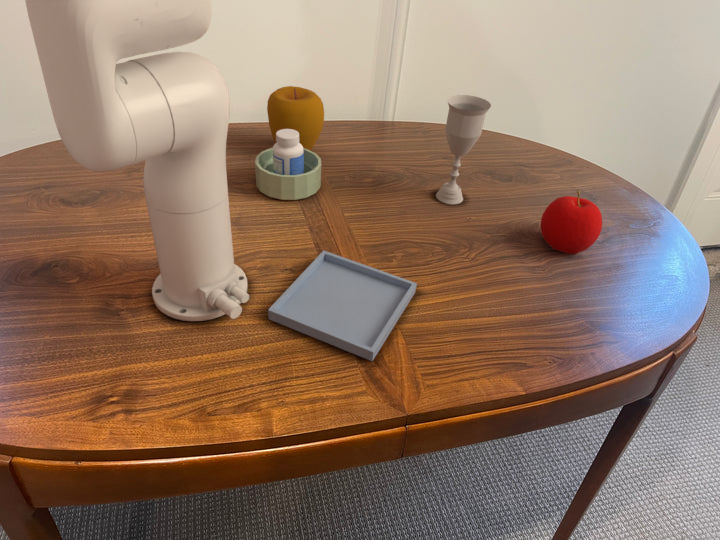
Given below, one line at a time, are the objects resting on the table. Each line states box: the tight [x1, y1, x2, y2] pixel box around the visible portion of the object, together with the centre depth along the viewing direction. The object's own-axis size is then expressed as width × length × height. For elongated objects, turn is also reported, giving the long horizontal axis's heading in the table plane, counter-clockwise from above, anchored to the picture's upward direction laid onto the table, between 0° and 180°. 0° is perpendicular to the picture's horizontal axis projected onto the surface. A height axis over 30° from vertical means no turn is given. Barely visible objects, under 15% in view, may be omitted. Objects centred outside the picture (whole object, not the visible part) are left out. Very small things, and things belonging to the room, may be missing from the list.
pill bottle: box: [272, 129, 304, 175], centre depth 95 cm, size 6×5×10 cm
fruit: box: [540, 190, 603, 255], centre depth 87 cm, size 9×9×10 cm
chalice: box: [435, 94, 492, 205], centre depth 94 cm, size 7×7×18 cm
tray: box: [267, 250, 418, 362], centre depth 74 cm, size 15×15×2 cm
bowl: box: [254, 147, 322, 201], centre depth 97 cm, size 12×12×5 cm
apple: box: [266, 85, 325, 151], centre depth 105 cm, size 11×11×13 cm
